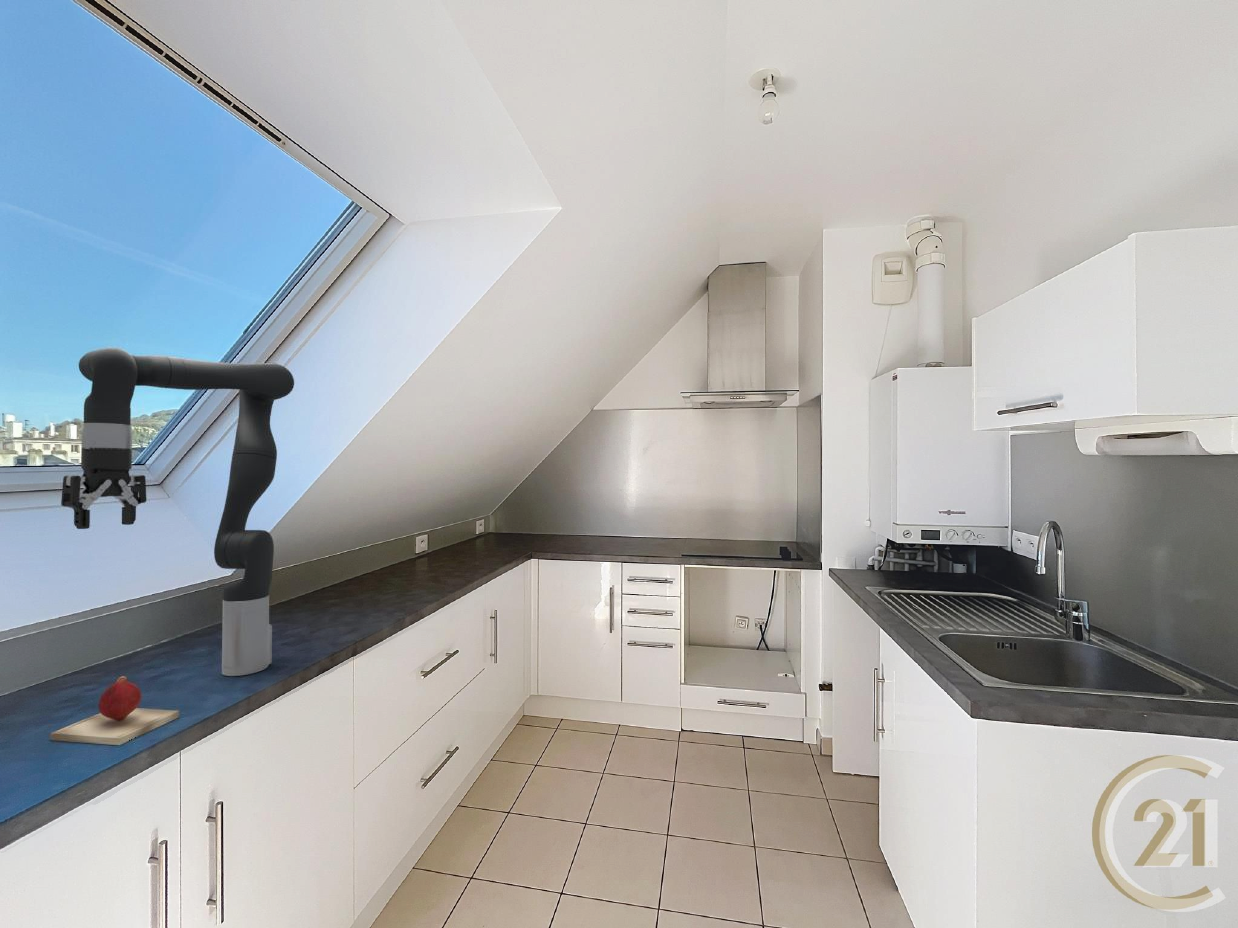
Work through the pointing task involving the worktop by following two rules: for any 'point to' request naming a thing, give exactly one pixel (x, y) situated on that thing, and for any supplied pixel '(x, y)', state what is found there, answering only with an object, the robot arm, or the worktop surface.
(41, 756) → the worktop surface
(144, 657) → the worktop surface
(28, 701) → the worktop surface
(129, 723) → the board
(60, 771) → the worktop surface
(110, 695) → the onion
